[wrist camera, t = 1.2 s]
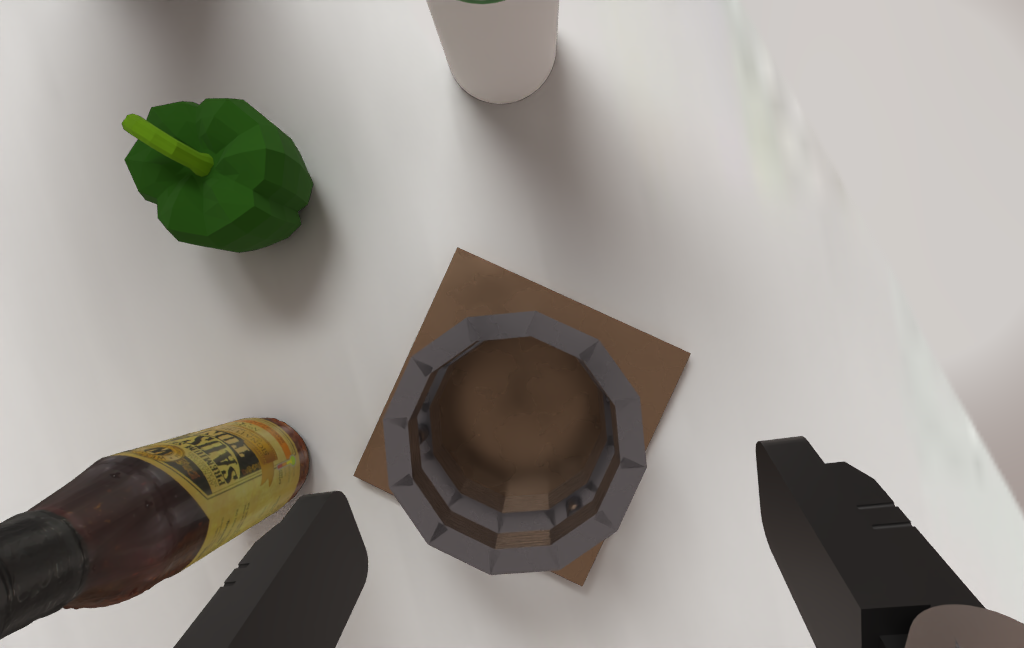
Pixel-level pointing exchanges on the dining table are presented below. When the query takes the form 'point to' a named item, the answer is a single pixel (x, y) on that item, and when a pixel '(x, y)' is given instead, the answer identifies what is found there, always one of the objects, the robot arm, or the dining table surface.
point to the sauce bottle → (145, 517)
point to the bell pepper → (218, 173)
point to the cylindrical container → (498, 45)
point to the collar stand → (519, 423)
